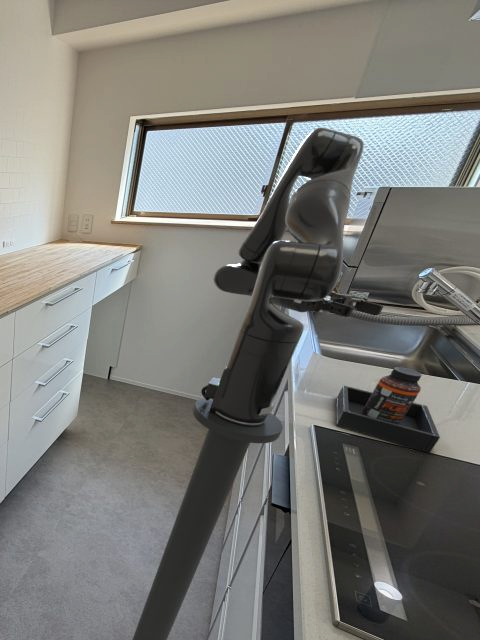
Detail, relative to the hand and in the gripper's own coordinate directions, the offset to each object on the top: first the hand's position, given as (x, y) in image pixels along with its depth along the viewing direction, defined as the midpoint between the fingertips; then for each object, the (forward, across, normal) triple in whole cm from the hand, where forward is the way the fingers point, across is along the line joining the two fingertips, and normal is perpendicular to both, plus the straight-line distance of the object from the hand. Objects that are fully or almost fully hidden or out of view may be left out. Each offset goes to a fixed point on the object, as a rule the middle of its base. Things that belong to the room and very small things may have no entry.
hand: (365, 311), depth 85 cm
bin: (+11, 0, +20) cm, 23 cm away
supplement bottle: (+11, 0, +20) cm, 23 cm away
